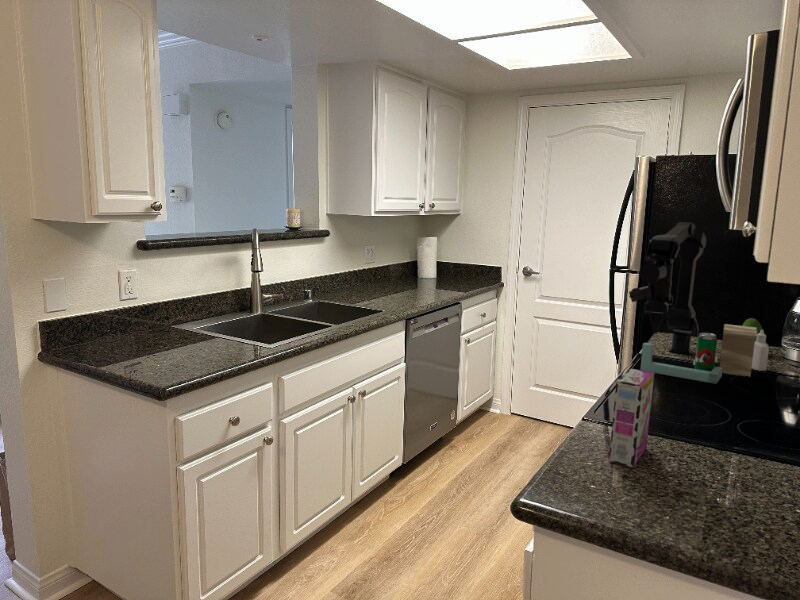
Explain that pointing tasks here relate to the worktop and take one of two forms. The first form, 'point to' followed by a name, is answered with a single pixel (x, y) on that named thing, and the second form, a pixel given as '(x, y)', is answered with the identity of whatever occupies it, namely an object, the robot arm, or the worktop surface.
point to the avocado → (753, 325)
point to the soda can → (705, 352)
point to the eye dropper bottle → (760, 352)
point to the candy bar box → (631, 417)
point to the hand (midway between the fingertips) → (657, 330)
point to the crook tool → (676, 368)
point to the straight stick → (715, 360)
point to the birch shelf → (737, 350)
